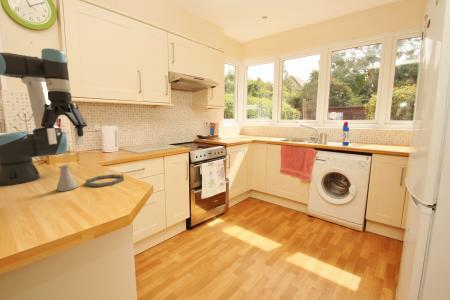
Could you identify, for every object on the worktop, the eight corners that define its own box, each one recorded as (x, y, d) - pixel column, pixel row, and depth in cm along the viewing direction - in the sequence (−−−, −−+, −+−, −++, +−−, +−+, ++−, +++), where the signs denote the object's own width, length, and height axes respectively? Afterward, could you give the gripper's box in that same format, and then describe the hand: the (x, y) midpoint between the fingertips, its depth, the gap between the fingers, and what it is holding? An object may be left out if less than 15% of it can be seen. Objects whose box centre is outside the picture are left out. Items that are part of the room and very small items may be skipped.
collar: (78, 185, 93) (77, 180, 93) (105, 176, 108) (105, 171, 107) (105, 187, 89) (105, 182, 89) (130, 177, 104) (130, 173, 103)
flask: (66, 192, 85) (63, 168, 84) (52, 191, 87) (48, 167, 85) (82, 186, 92) (79, 164, 91) (68, 185, 94) (65, 163, 92)
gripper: (24, 91, 83) (32, 144, 87) (76, 89, 78) (83, 145, 81) (43, 93, 90) (51, 142, 94) (93, 91, 85) (98, 143, 89)
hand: (66, 144), depth 88 cm, fingers open, 13 cm apart
